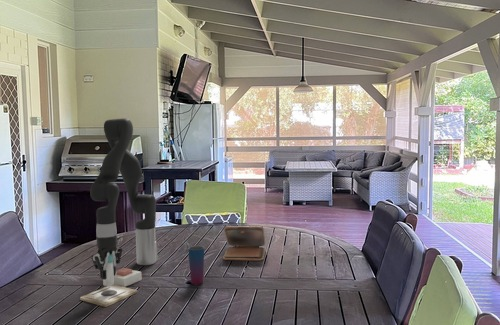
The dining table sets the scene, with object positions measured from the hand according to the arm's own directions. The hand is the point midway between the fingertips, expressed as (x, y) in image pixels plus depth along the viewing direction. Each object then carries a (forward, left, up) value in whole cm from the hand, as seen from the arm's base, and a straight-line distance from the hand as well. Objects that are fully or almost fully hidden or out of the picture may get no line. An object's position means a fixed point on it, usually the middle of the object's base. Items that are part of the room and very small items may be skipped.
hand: (108, 277), depth 179 cm
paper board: (0, 0, -8) cm, 8 cm away
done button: (-15, -7, -6) cm, 18 cm away
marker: (0, 0, -3) cm, 3 cm away
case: (-73, +18, -8) cm, 76 cm away
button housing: (-15, -7, -8) cm, 18 cm away
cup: (-29, +21, -8) cm, 37 cm away
